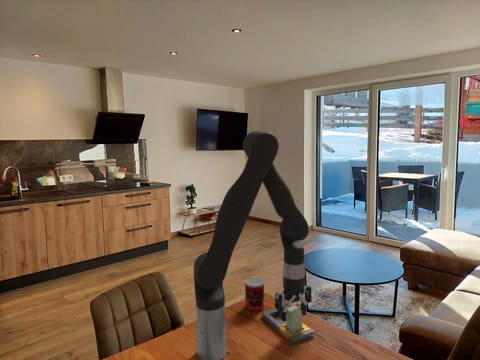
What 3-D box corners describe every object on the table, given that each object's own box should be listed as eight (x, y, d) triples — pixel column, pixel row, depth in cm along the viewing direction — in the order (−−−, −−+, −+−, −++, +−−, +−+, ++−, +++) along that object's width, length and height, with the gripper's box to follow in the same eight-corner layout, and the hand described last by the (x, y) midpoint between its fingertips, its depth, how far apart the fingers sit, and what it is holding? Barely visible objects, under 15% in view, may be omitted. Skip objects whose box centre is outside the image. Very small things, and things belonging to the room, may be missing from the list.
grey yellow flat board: (292, 344, 115) (292, 338, 115) (261, 317, 133) (261, 311, 133) (313, 336, 119) (313, 330, 119) (281, 311, 137) (280, 305, 137)
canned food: (255, 300, 146) (254, 276, 145) (268, 307, 140) (268, 282, 138) (241, 306, 141) (240, 281, 140) (254, 314, 135) (253, 287, 134)
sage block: (292, 337, 119) (292, 313, 118) (286, 331, 123) (285, 308, 121) (301, 334, 121) (301, 310, 120) (295, 328, 124) (295, 305, 123)
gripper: (283, 282, 112) (283, 328, 114) (316, 273, 119) (316, 317, 121) (270, 274, 119) (270, 317, 121) (303, 266, 125) (302, 307, 128)
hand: (293, 317), depth 121 cm, fingers open, 8 cm apart
